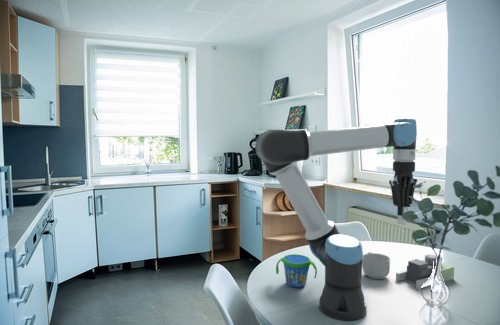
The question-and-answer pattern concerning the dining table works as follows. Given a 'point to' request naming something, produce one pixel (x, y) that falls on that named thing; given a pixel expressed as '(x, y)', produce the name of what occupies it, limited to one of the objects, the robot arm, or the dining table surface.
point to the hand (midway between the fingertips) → (402, 223)
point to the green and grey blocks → (446, 269)
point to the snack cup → (296, 269)
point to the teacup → (376, 265)
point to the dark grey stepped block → (418, 270)
